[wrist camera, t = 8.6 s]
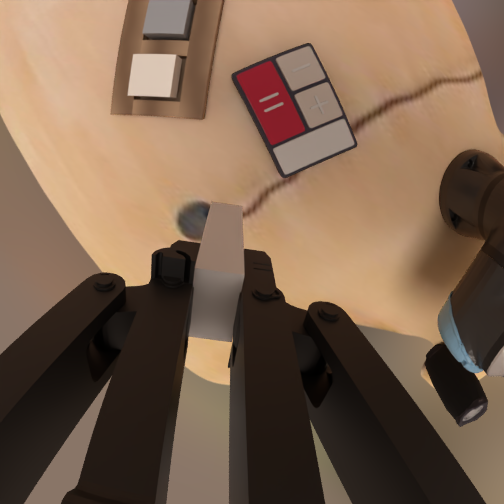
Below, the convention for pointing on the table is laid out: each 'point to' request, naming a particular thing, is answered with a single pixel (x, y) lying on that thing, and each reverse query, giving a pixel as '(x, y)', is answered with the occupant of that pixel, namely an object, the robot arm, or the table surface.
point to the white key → (154, 75)
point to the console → (190, 51)
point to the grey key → (168, 19)
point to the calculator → (295, 109)
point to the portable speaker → (455, 386)
